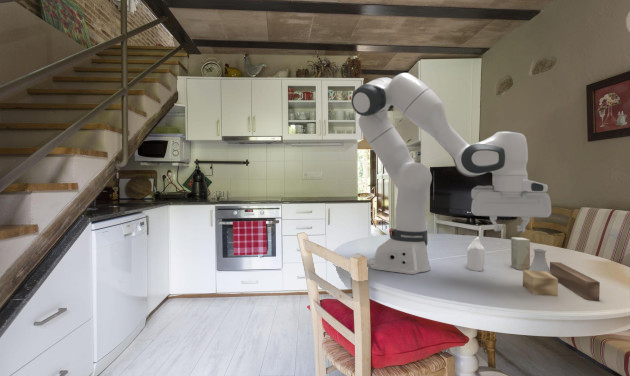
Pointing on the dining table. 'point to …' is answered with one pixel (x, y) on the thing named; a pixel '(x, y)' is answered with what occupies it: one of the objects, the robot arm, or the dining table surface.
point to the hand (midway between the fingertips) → (509, 231)
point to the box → (520, 253)
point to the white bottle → (475, 256)
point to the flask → (539, 261)
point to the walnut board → (576, 281)
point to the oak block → (540, 282)
